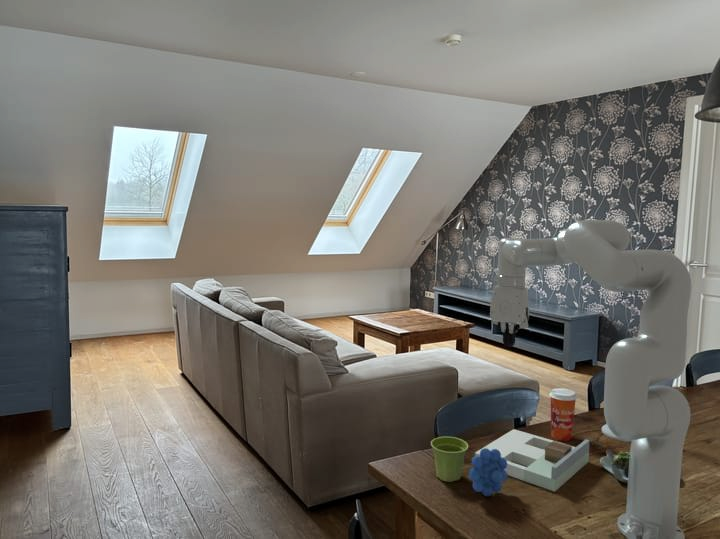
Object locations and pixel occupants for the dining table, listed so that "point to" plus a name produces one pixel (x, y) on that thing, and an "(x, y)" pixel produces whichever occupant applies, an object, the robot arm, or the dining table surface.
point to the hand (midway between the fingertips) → (508, 345)
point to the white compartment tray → (537, 459)
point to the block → (556, 451)
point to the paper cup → (562, 413)
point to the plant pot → (449, 457)
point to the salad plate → (617, 465)
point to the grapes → (488, 471)
